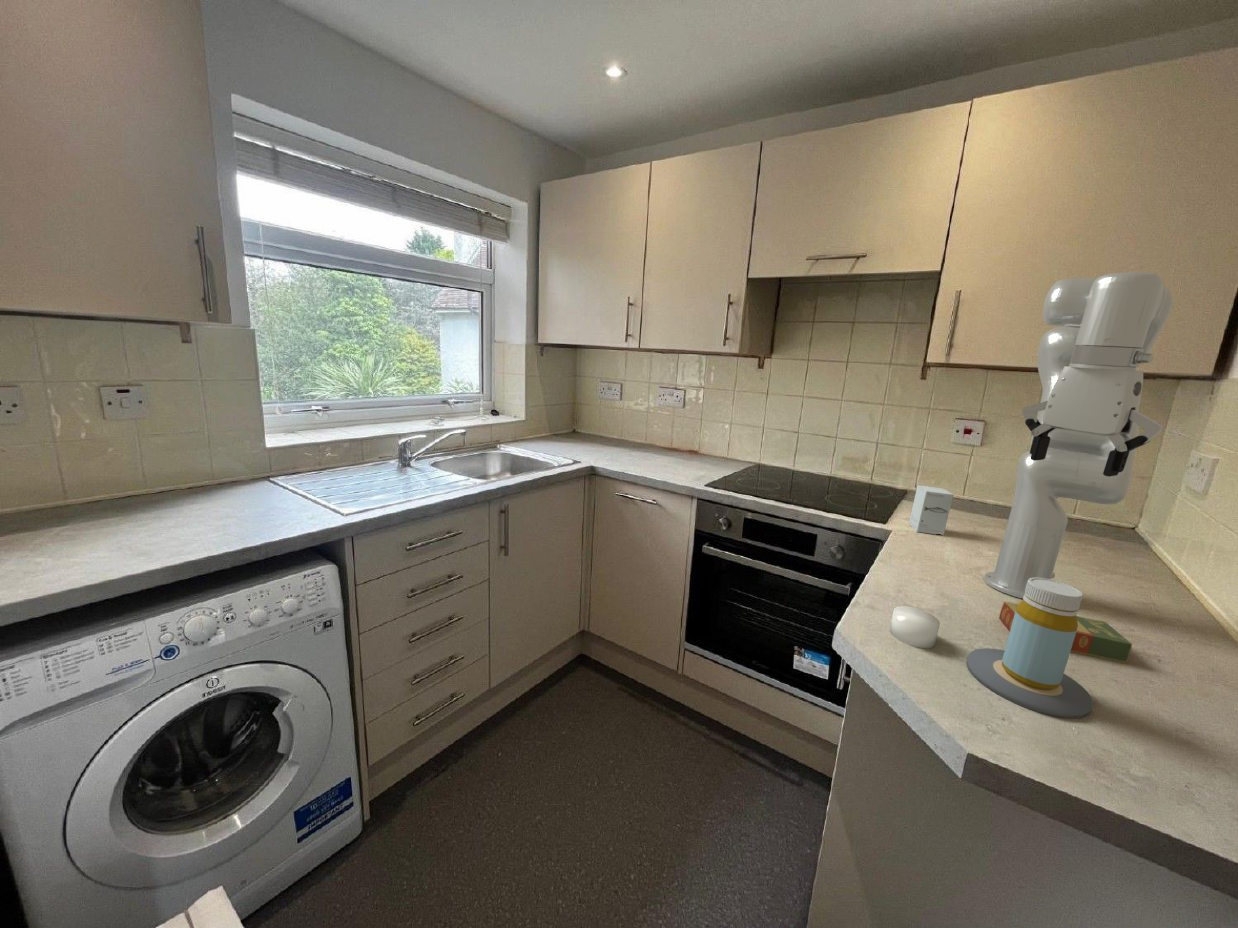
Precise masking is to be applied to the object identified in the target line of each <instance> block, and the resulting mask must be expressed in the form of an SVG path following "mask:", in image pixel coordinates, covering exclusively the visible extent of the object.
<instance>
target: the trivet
mask: <svg viewBox="0 0 1238 928" xmlns="http://www.w3.org/2000/svg"><path fill="white" fill-rule="evenodd" d="M1004 652H1005V649H998V648H989V647H988V648H987V647H986V648H977V649H974V650H971V651H970V652H969V653H968V655H967V659H966V668H967V669H968V671H969V673H970V675H972V677H974V678H975V679H976V681H978V682H979V683H980V684H981V685H983V686H984V687H986V688H987V689H988V690H990V691H991V692H994V693H995V694H996V695H998V696H999V697H1002V698H1003V699H1005V700H1007V701H1010V702H1011V703H1014V704H1015V705H1019V706H1021V707H1023V708H1025V709H1028V710H1031V711H1034V712H1037V713H1040V714H1043V715H1048V716H1051V717H1056V718H1061V719H1080V718H1085V717H1087V716H1089V714H1090V713H1091V711H1092V709H1093V704H1094V702H1093V698H1092V696H1091V694H1090V693H1089V692H1088V691H1087V690H1086V688H1084V687H1083V686H1082V685H1081V684H1080V683H1078V681H1076V680H1074V678H1072V677H1070V676H1069V675H1067V674H1065V673H1064V674H1063V677H1062V681H1061V683H1060V686H1059V687H1058V688H1055V689H1052V690H1040V689H1037V688H1033V687H1030V686H1027V685H1024V684H1022V683H1020V682H1018V681H1016V680H1015V679H1013V678H1012V677H1010V676H1009V675H1008V674H1007V673H1006V671H1005V670H1004V668H1003V666H1002V660H1003V655H1004Z"/></svg>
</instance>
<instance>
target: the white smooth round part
mask: <svg viewBox="0 0 1238 928" xmlns="http://www.w3.org/2000/svg"><path fill="white" fill-rule="evenodd" d="M940 625H941V621H940V620H939V619H938V618H937V617H936V616H935V615H933V614H932V613H930V612H927V611H925V610H923V609H920V608H918V607H917V608H916V607H912V606H911V607H910V606H905V605H900V606H897V607H894V609H893V613H892V616H891V621H890V625H889V628H888V629H889V633H890V635H892V637H893V638H895V639H896V640H898V641H900V642H902V643H903V644H906V645H908V646H912V647H915V648H919V649H920V648H921V649H931V648H934V646H935V645H936V641H937V637H938V633H939V630H940Z"/></svg>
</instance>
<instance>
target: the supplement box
mask: <svg viewBox="0 0 1238 928" xmlns="http://www.w3.org/2000/svg"><path fill="white" fill-rule="evenodd" d="M953 498H954V494H953V493H952V492H950V491H949V490H947V489H945V488H941V487H932V486H927V485H919V484H918V485H917V487H916V491H915V495H914V500H913V504H912V509H911V511H910V512H911V514H910V517H909V522H908V525H909V526H910V525H911V526H912V527H911V526H910V527H911V528H912V529H913V530H914V531H915V530H916V531H917V532H916V531H915V532H916V533H923V534H925V533H926V534H930V535H936V534H941V535H943V536H944V535H945V531H946V527H947V522H948V518H949V514H950V509H951V506H952V502H953ZM941 535H940V536H941Z"/></svg>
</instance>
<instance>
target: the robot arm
mask: <svg viewBox="0 0 1238 928" xmlns="http://www.w3.org/2000/svg"><path fill="white" fill-rule="evenodd" d="M1173 301H1174V297H1173V293H1172V291H1171V290H1170V288H1168V287H1167V286H1165V285H1164V284H1163V278H1162V276H1161V275H1159V274H1158V273H1154V272H1147V271H1146V272H1145V271H1128V272H1125V271H1124V272H1112V273H1106V274H1104V275H1101V276H1099V277H1085V278H1084V277H1083V278H1082V277H1079V278H1074V277H1073V278H1063V279H1059V280H1057V281H1056V282H1055V283H1053V284H1052V286H1051V287H1050V289H1049V290H1048V292H1047V294H1046V296H1045V300H1044V302H1043V305H1042V319H1043V320H1042V321H1043V323H1044V325H1047V326H1055V327H1054V328H1051V329H1050V330H1048V331H1046V332H1045V333H1043V335H1042V337H1041V339H1040V340H1039V341H1040V342H1039V345H1038V349H1037V359H1036V360H1037V370H1038V375H1039V378H1040V383H1041V387H1042V393H1041V399H1040V402H1038V403H1035V404H1031V405H1028V406H1024V407H1023V408H1022V410H1021V411H1022V415H1023V418H1024V420H1025V421H1024V422H1025V426H1027V428H1028V430H1029V431H1030V433H1031V436H1032V437H1033V439H1032V442H1031V445H1030V450H1027V451H1025V452H1024V453H1022V454H1021V456H1020V458H1019V459H1018V462H1017V466H1016V467H1017V469H1016V480H1015V488H1014V496H1013V500H1012V505H1011V508H1010V513H1009V516H1008V520H1007V524H1006V528H1005V532H1004V536H1003V537H1002V538H1003V540H1002V543H1001V547H1000V550H999V554H998V557H997V562H996V565H995V568H994V571H989V572H986V573H985V574H984V577H983V581H984V582H985V583H986V584H987V585H989V586H990V587H991V588H993V589H995V590H997V591H999V592H1002V593H1004V594H1007V595H1009V596H1012V597H1015V598H1019V599H1022V600H1023V597H1024V594H1025V589H1026V585H1027V582H1028V580H1029V578H1034V577H1037V578H1045V579H1050V580H1053V579H1054V578H1055V577H1056V574H1055V572H1054V569H1055V565H1056V563H1057V559H1058V556H1059V552H1060V550H1061V546H1062V542H1063V539H1064V535H1065V531H1066V528H1067V526H1068V515H1067V512H1066V511H1065V509H1064V508H1063V505H1061V504H1060V503H1059V501H1058V500H1057V498H1062V499H1063V498H1065V499H1071V500H1077V501H1083V502H1089V503H1092V504H1093V503H1095V504H1099V505H1116V504H1118V503H1120V502H1122V501H1123V500H1124V499H1125V498H1126V497H1127V495H1128V492H1129V490H1130V486H1131V482H1132V477H1133V469H1134V464H1135V463H1134V462H1135V459H1136V458H1135V457H1136V450H1137V449H1138V448H1139V447H1140V448H1141V446H1144V445H1146V444H1148V443H1150V442H1151V440H1152V439H1154V438H1155V437H1157V435H1159V434H1160V433H1161V432H1162V431H1164V429H1165V427H1164V426H1163V424H1160V422H1157V421H1155V420H1154V419H1152V418H1150V417H1149V416H1147V415H1145V414H1143V413H1142V412H1140V411H1139V409H1140V404H1141V399H1142V393H1143V385H1144V371H1142V370H1137V368H1138V367H1139V366H1141V364H1151V363H1152V362H1153V360H1154V354H1153V353H1151V351H1152V349H1153V348H1154V345H1155V344H1156V341H1157V339H1158V337H1159V336H1160V333H1161V332H1162V331H1163V329H1164V327H1165V325H1166V323H1167V321H1168V319H1169V317H1170V314H1171V311H1172V310H1173ZM1056 326H1058V327H1056ZM1139 426H1140V427H1142V428H1143V431H1142V432H1141V433H1140V434H1139Z"/></svg>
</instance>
